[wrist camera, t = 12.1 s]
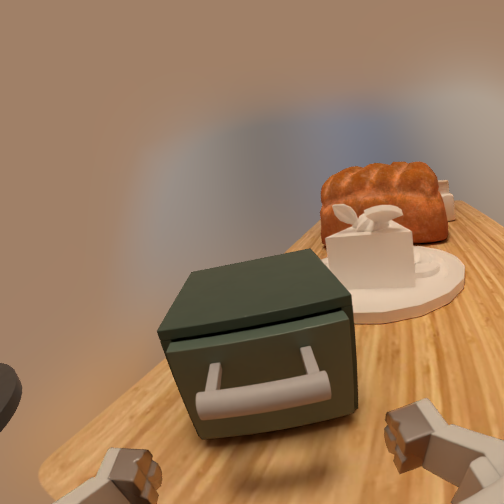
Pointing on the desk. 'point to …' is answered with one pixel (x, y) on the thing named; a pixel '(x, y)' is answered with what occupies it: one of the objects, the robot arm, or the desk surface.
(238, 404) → the drawer
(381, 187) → the bread
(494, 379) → the desk surface
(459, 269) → the dish
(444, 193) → the pepper shaker
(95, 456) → the desk surface
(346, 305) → the cabinet
